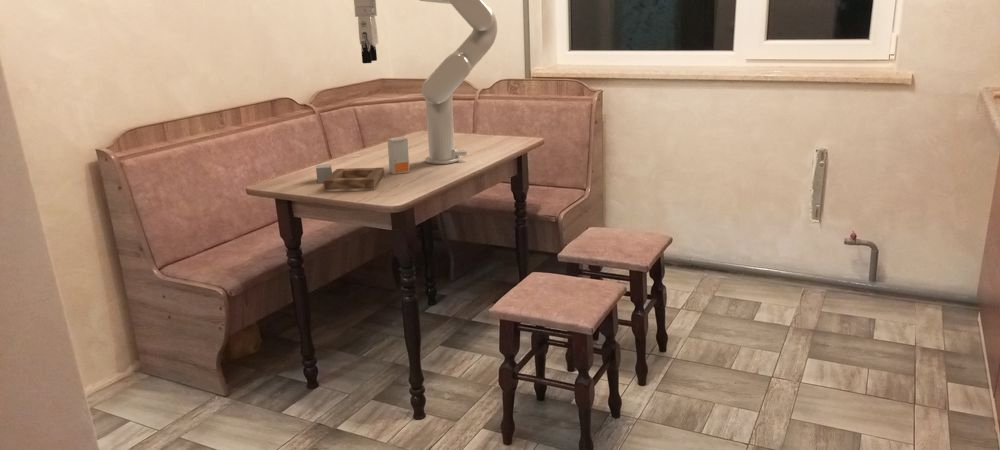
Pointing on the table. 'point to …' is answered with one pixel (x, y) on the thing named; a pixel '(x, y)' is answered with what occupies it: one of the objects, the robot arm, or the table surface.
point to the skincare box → (398, 155)
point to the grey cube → (323, 172)
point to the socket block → (354, 179)
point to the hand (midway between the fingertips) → (369, 61)
